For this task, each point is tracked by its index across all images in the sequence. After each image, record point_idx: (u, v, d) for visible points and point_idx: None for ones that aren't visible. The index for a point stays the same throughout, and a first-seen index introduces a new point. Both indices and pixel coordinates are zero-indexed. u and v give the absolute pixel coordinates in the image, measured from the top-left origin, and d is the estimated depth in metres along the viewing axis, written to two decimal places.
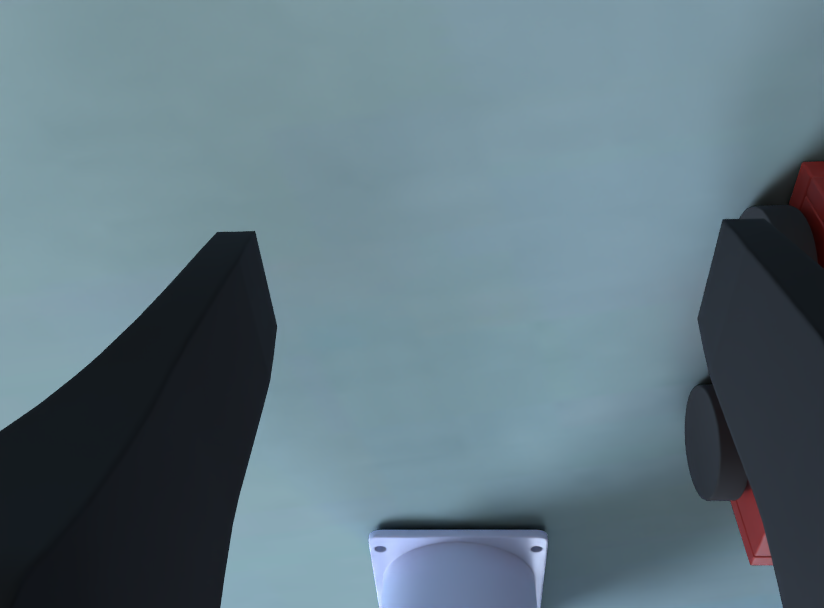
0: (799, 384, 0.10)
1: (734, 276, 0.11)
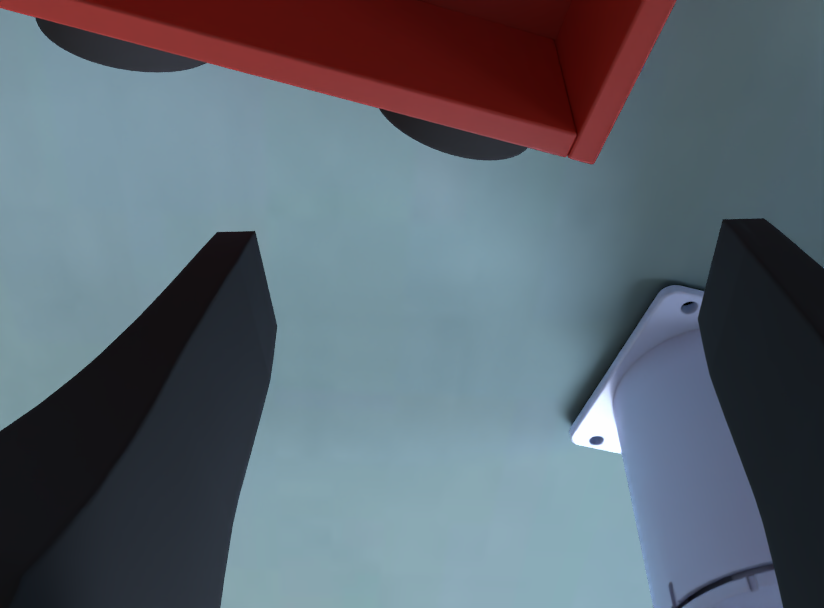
0: (799, 384, 0.10)
1: (734, 276, 0.11)
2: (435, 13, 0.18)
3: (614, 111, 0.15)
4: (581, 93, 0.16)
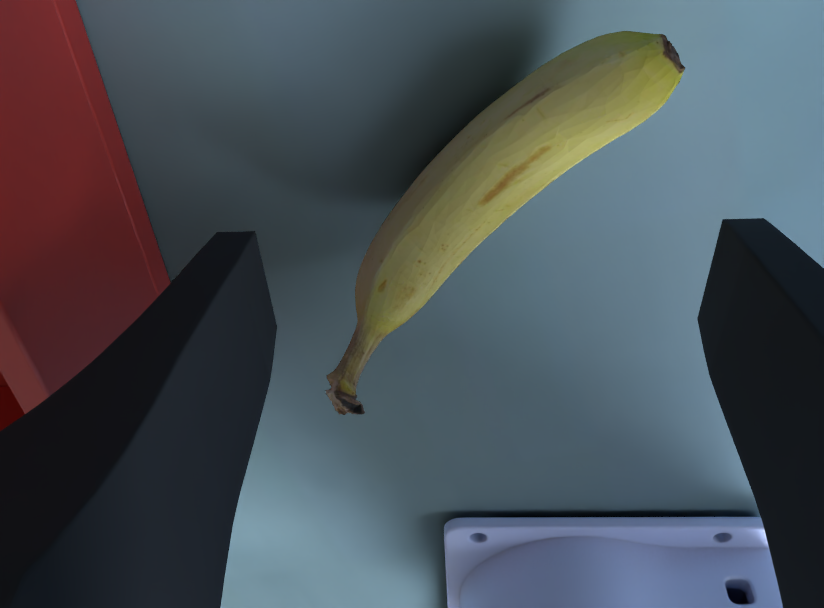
0: (799, 384, 0.10)
1: (734, 276, 0.11)
2: None
3: None
4: None
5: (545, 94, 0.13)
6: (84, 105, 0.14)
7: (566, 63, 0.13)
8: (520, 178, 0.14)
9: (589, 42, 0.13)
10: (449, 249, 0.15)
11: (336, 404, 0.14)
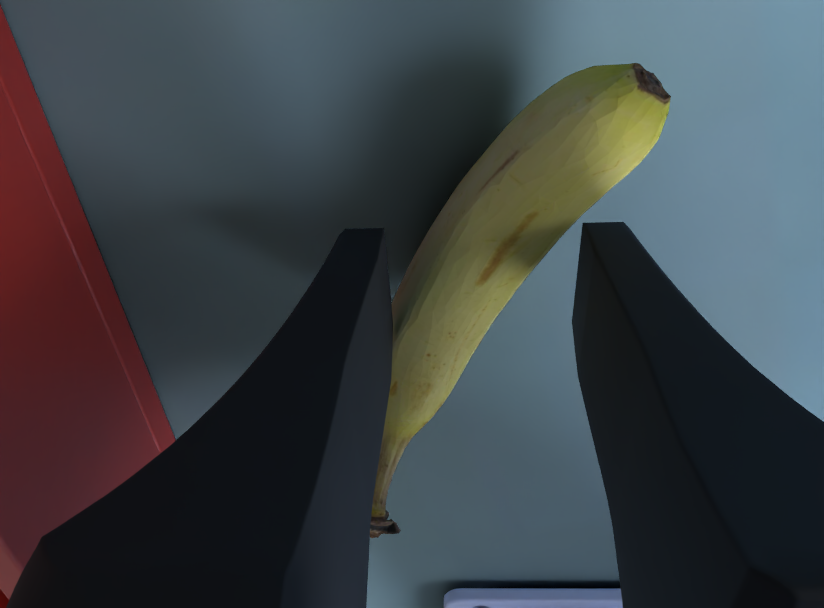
0: (628, 386, 0.10)
1: (589, 279, 0.11)
2: None
3: None
4: None
5: (516, 158, 0.11)
6: (32, 175, 0.12)
7: (532, 117, 0.11)
8: (514, 250, 0.12)
9: (555, 87, 0.11)
10: (459, 335, 0.13)
11: None
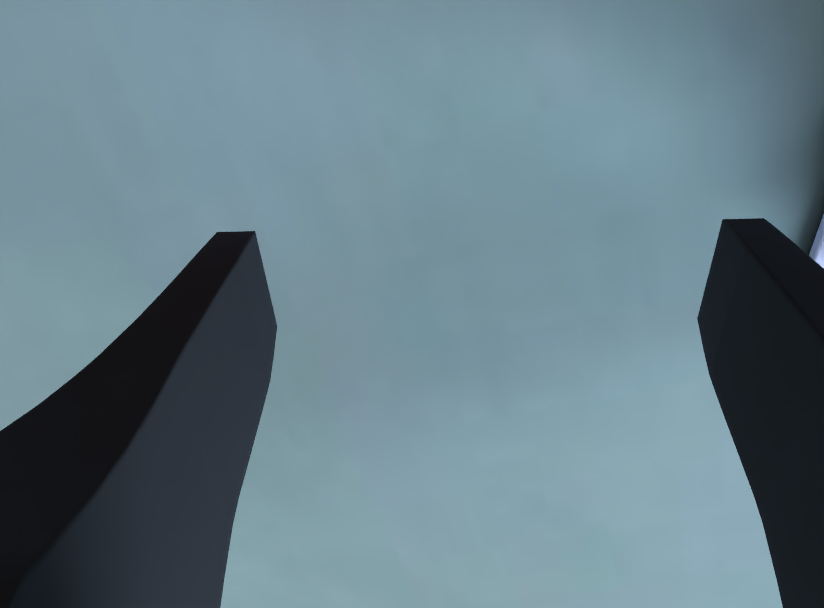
0: (799, 384, 0.10)
1: (734, 276, 0.11)
2: None
3: None
4: None
5: None
6: None
7: None
8: None
9: None
10: None
11: None
